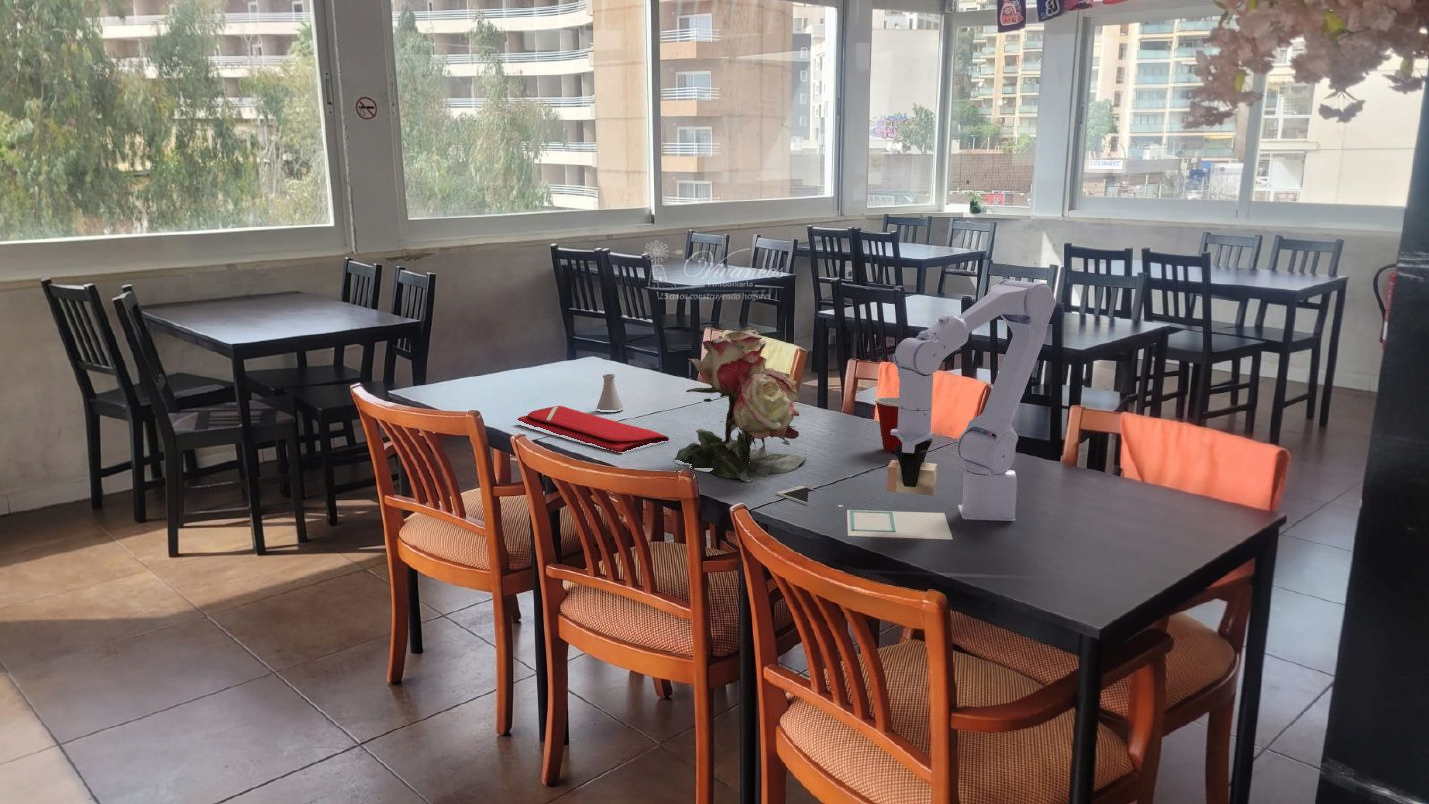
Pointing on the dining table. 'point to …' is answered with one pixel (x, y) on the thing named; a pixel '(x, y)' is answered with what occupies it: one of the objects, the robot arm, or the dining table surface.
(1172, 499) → the dining table surface
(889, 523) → the mat
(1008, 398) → the robot arm
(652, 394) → the dining table surface
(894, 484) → the block
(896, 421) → the plastic cup
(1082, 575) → the dining table surface
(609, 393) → the flask
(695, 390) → the rose bouquet
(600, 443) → the dish drying mat
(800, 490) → the smartphone
